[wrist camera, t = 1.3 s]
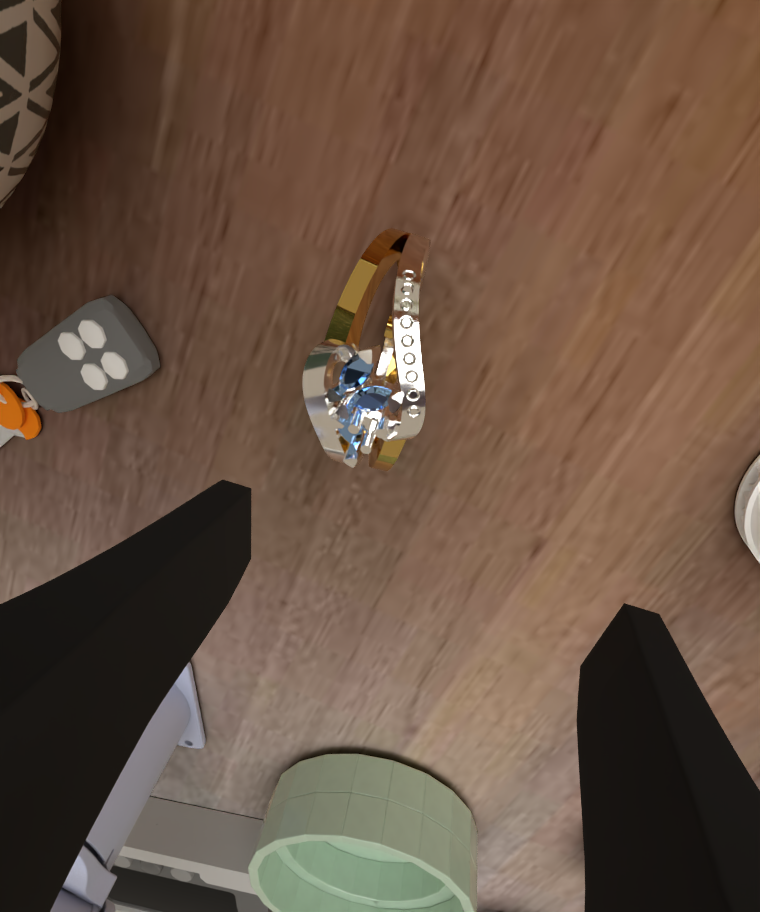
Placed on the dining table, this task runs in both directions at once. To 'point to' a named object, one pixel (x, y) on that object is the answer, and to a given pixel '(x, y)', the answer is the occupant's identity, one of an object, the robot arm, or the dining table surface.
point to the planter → (25, 82)
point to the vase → (749, 508)
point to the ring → (372, 361)
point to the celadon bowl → (364, 840)
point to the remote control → (77, 365)
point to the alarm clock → (186, 861)
